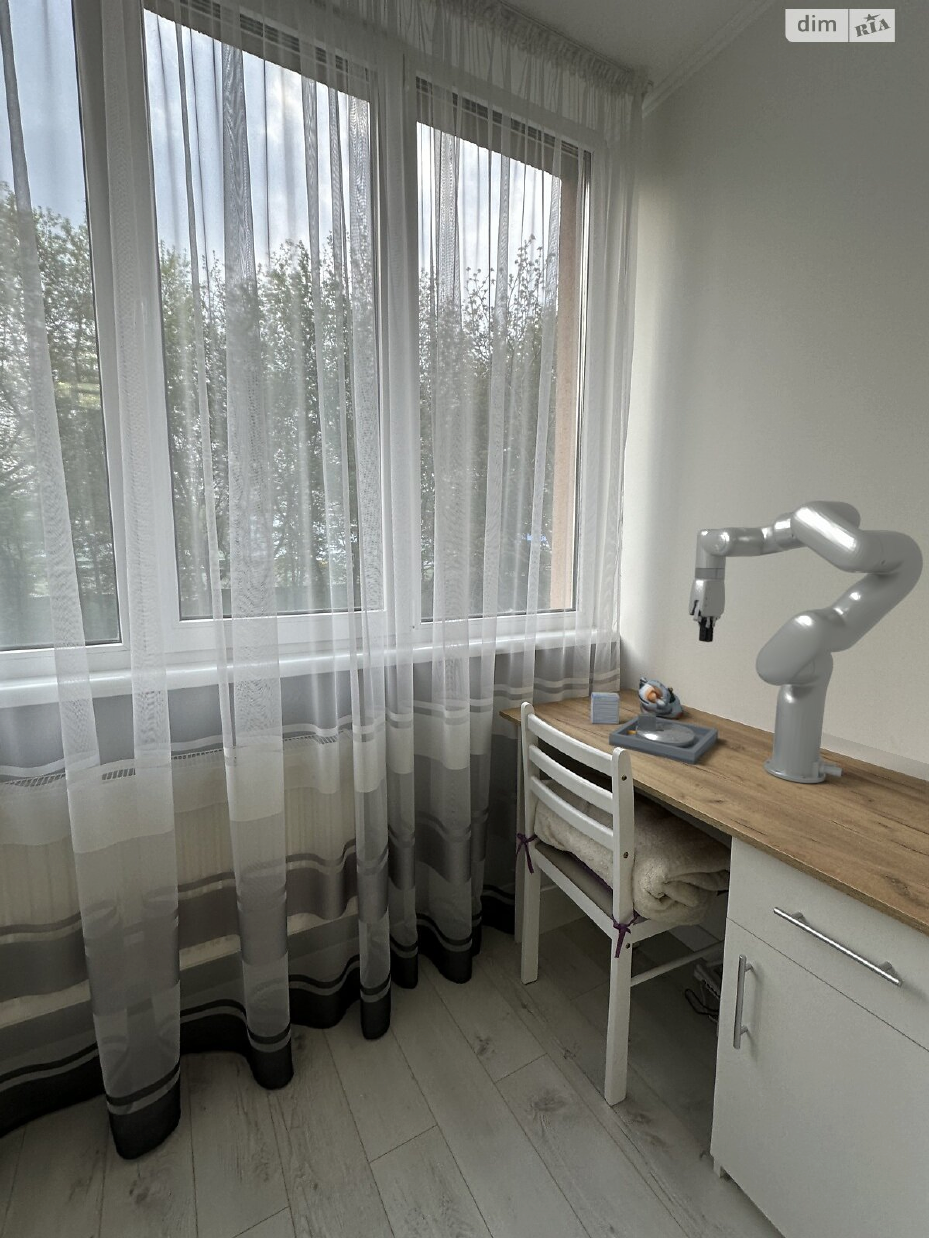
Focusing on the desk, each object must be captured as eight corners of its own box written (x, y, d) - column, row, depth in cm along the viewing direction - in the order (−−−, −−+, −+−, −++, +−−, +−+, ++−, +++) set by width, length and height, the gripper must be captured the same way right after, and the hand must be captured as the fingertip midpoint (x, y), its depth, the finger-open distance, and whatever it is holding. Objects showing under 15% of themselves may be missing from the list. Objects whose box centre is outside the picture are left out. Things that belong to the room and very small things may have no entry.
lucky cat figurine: (692, 719, 172) (684, 684, 166) (656, 735, 172) (647, 700, 166) (668, 693, 185) (660, 660, 179) (634, 707, 185) (625, 675, 179)
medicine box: (616, 720, 172) (617, 692, 170) (618, 724, 167) (620, 696, 166) (590, 719, 172) (591, 691, 171) (591, 723, 168) (592, 695, 167)
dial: (687, 730, 159) (688, 709, 158) (700, 749, 144) (701, 726, 143) (632, 726, 161) (633, 706, 160) (639, 745, 147) (640, 723, 146)
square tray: (717, 739, 155) (718, 729, 154) (693, 764, 138) (694, 753, 137) (639, 723, 168) (640, 714, 168) (608, 744, 151) (609, 733, 151)
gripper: (713, 573, 160) (709, 637, 162) (680, 575, 152) (676, 641, 154) (738, 574, 154) (734, 640, 156) (705, 576, 146) (701, 646, 148)
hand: (705, 641), depth 155 cm, fingers closed
